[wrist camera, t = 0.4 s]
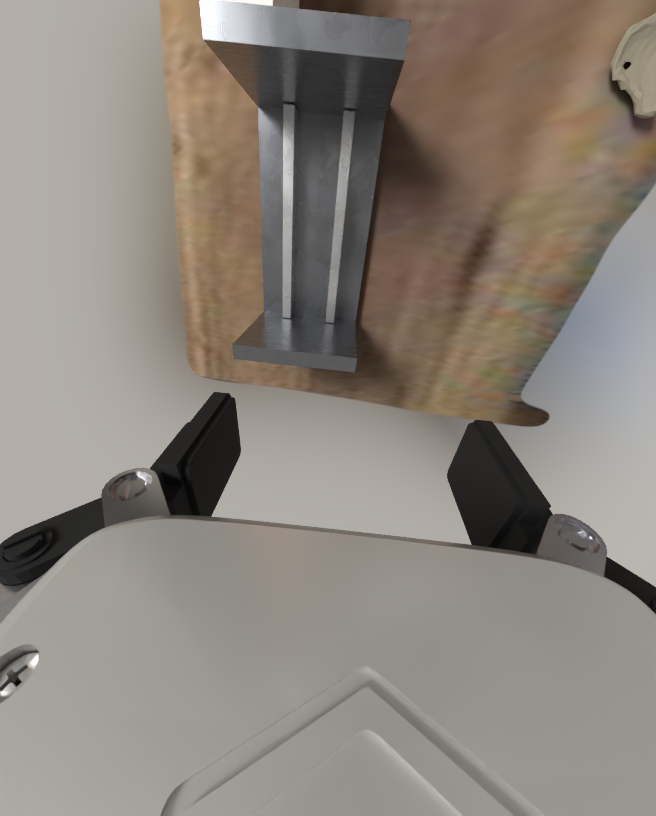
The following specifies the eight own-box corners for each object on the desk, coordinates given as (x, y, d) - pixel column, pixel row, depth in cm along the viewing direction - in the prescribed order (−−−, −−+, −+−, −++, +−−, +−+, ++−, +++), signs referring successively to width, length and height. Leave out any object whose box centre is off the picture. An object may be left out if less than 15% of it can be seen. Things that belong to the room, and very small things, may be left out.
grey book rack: (260, 87, 27) (199, -2, 16) (386, 101, 27) (410, 20, 16) (266, 320, 39) (233, 358, 28) (354, 330, 39) (354, 372, 28)
